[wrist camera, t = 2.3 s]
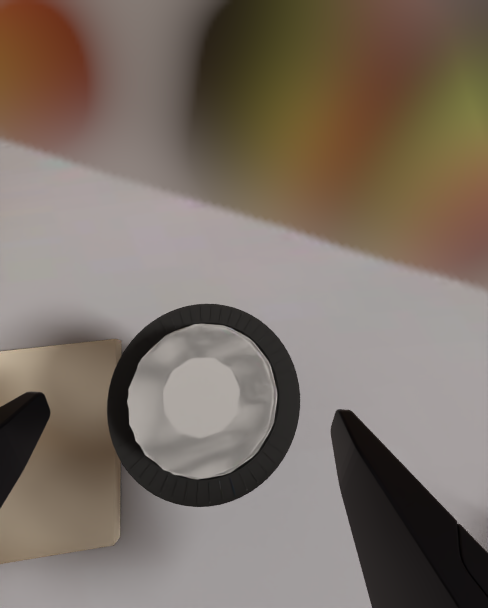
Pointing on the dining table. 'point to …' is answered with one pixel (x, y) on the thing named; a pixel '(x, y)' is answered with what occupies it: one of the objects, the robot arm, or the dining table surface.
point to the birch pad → (63, 453)
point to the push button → (203, 405)
